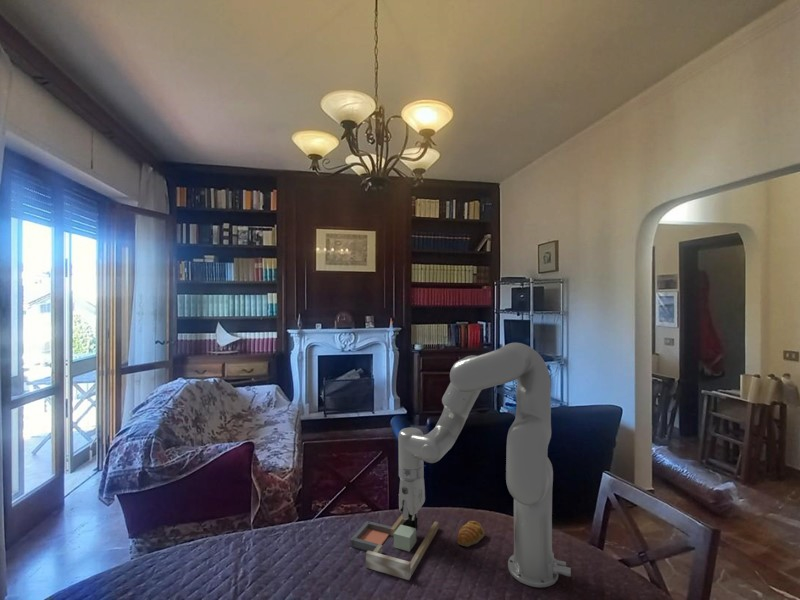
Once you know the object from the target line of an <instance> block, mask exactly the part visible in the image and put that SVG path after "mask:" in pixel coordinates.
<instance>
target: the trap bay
mask: <svg viewBox="0 0 800 600" xmlns="http://www.w3.org/2000/svg"><path fill="white" fill-rule="evenodd" d="M391 527H392V526H390V525H387V524H381V523H378V522H373V521H369V520H366V521H365V522H364V523H363V524H362V525H361V527H360V528H359V529H358V530H357V531H356V532H355V533H354V535H352V537H351V538H350V539H349V547H352V548H354V549H358V550H359V549H360V550H362V551H366V552H367V551H368V550H369V551H372V552H373V551H374V549H375V548H376V547H377V545H378V544H380V545H382V546H383V544H384V543H385V541H386V540H387V538H389V536H391V535H390V529H391Z"/></svg>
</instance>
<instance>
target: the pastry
mask: <svg viewBox="0 0 800 600" xmlns="http://www.w3.org/2000/svg"><path fill="white" fill-rule="evenodd" d="M485 534H486V532H485V530H484V527H482V524H481V523H480V522H478V521H476V520H469V521H467V523H465V524H464V525H462V526H461V527H460V528H459V531H458V534H457V544H458V545H460V546H463V547H466V548H469V547H470V546H473V545H476V544H478V543H479V542H480V541H481V540H483V538H484V536H485Z"/></svg>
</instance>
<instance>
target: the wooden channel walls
mask: <svg viewBox="0 0 800 600" xmlns="http://www.w3.org/2000/svg"><path fill="white" fill-rule="evenodd" d="M404 523H406V520H404V519H403V513H401V515H400V516H399V517H398V518H397V520H396V521H395V522H394V523H393V524H392V526H391V529H390V535H389V536H391V537H394V532H395V531H396V530H397V529H398V527H399V526H400V525H404ZM439 527H440V526H439V521H434V522H433V524H432V525H431V527H430V528H429V530H428V532H427V533H426V535H425V537H424V538H423V541H422V542H421V544H420V545H419V546H418V548H417V550H416V551H415V554H414V555H413V557H412V559H411V560H410V561H408V560H405V559H401V558H397V557H395V556H390V555H386V554H383V544H382V545H380V544H378V545H377V547H376V548H375V549H374V551H373V552H372V551H369V550H368V551H366V552H365V568H366V569H370V570H373V571H376V572H380V573H384V574H387V575H389V576H392V577H396V578H400V579H403V580H407V581H410V580H411V577H412V576H413V574H414V572H415V571H416V569H417V568H418V565H419V564H420V562H421V560H422V559H423V557H424V555H425V553H426V552H427V550H428V548H429V546H430V544H431V542H432V540H433V539H434V538H435V536H436V534H437V532H438V531H439Z"/></svg>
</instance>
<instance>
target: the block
mask: <svg viewBox="0 0 800 600" xmlns="http://www.w3.org/2000/svg"><path fill="white" fill-rule="evenodd" d="M416 543H417V531H416V528H412V527H409V526H406V524H405V525H404V524H403V525H400V526H399V527H398V529H397V530H396V531H395V532H394V536H393V548H395V549H399V550H402V551H406V552H411V550H412V549H413V547H414V546H415V545H416Z"/></svg>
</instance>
